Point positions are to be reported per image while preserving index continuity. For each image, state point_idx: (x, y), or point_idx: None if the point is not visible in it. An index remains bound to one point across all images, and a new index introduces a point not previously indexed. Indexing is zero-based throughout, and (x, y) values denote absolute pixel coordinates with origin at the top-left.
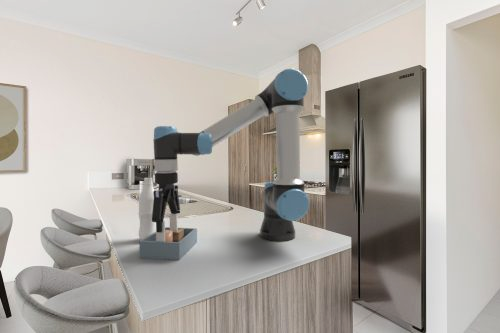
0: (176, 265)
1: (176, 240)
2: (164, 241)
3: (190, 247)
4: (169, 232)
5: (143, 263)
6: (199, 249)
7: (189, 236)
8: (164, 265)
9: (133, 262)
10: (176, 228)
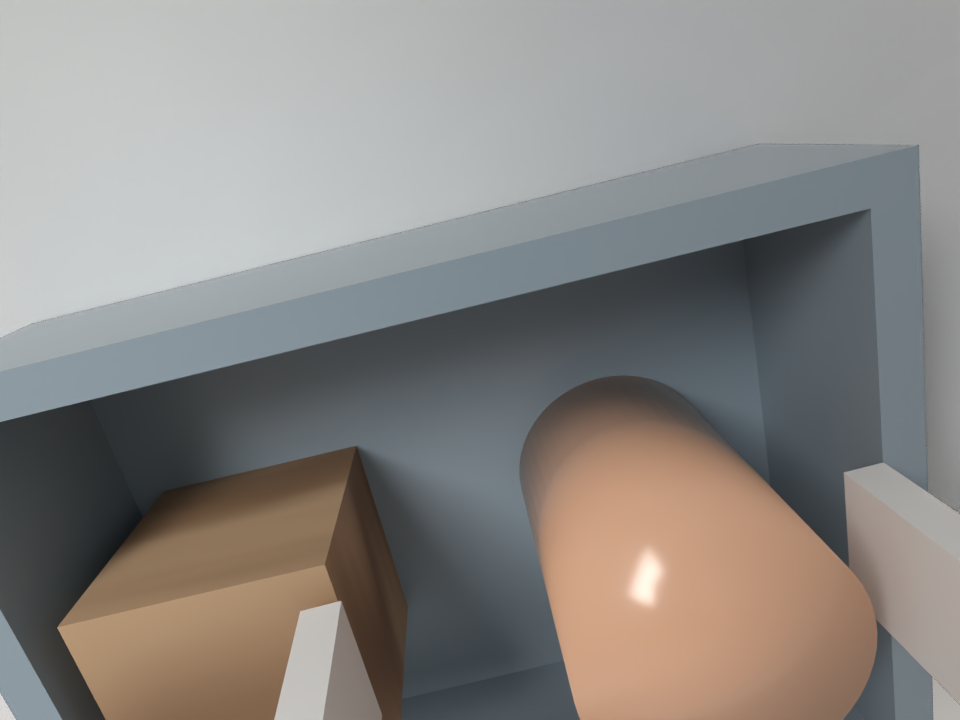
0: (923, 70)
1: (355, 518)
2: (879, 463)
3: (329, 252)
4: (742, 565)
5: (929, 477)
6: (284, 102)
7: (348, 279)
8: (945, 221)
9: None
10: (337, 657)
